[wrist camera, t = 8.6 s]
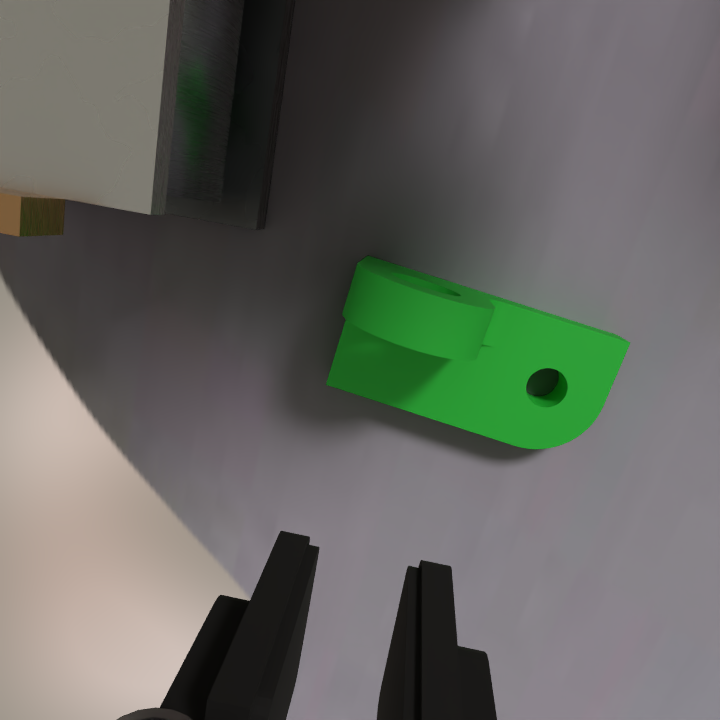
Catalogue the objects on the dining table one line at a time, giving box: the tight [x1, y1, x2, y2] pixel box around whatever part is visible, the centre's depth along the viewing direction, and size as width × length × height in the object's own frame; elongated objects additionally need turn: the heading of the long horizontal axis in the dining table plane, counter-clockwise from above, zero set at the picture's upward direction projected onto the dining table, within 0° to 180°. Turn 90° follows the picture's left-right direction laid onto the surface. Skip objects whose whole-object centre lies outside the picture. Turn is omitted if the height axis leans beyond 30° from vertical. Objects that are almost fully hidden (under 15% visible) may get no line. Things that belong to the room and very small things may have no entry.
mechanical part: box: [326, 256, 630, 449], centre depth 25 cm, size 12×6×8 cm, turn 73°
